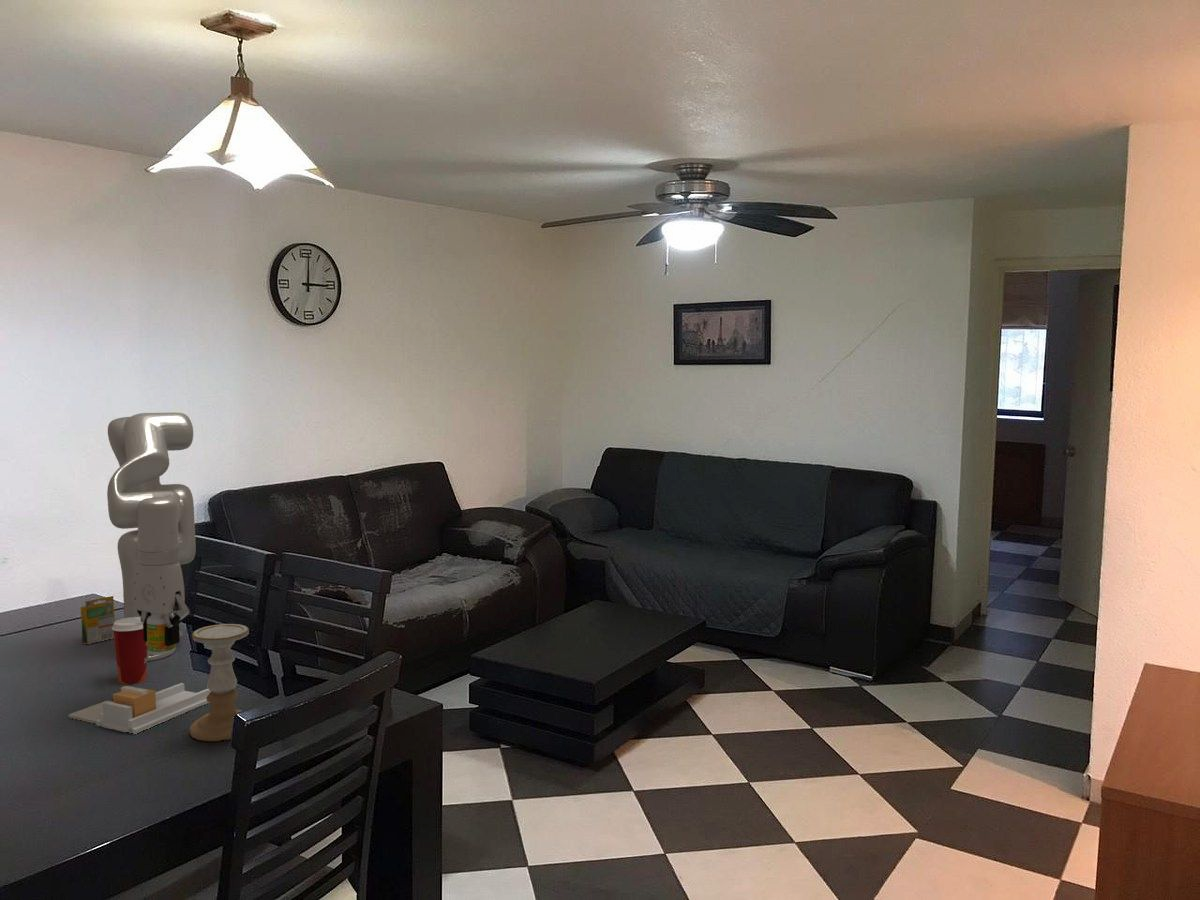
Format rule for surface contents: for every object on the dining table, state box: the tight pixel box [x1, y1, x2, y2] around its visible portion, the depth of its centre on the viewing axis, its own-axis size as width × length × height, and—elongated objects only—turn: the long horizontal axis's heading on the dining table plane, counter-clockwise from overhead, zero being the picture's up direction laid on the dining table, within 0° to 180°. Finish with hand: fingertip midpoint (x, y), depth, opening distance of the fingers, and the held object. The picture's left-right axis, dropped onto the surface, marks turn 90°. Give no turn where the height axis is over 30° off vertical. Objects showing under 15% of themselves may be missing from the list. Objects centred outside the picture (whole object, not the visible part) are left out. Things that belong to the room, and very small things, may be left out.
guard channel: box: [95, 682, 211, 735], centre depth 191 cm, size 20×11×5 cm, turn 157°
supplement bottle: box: [147, 613, 177, 654], centre depth 191 cm, size 5×5×10 cm
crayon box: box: [80, 595, 116, 645], centre depth 240 cm, size 7×3×12 cm, turn 144°
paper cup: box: [112, 617, 148, 686], centre depth 210 cm, size 8×8×14 cm
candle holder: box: [188, 623, 250, 742], centre depth 181 cm, size 12×12×20 cm
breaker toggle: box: [112, 685, 157, 718], centre depth 185 cm, size 5×6×6 cm
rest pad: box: [67, 700, 112, 725], centre depth 190 cm, size 9×9×1 cm
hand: (161, 641), depth 191 cm, fingers closed on supplement bottle, 5 cm apart
